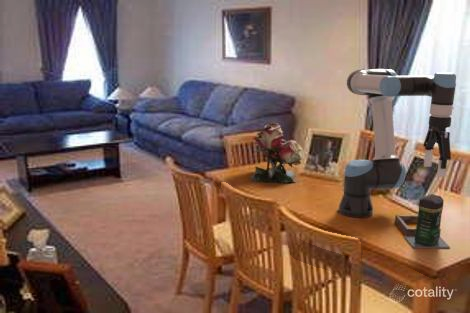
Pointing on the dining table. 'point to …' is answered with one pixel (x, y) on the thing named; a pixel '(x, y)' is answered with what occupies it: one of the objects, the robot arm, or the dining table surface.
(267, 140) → the rose bouquet
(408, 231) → the holder frame
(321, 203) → the dining table surface
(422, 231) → the coffee jar
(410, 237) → the slate mat
